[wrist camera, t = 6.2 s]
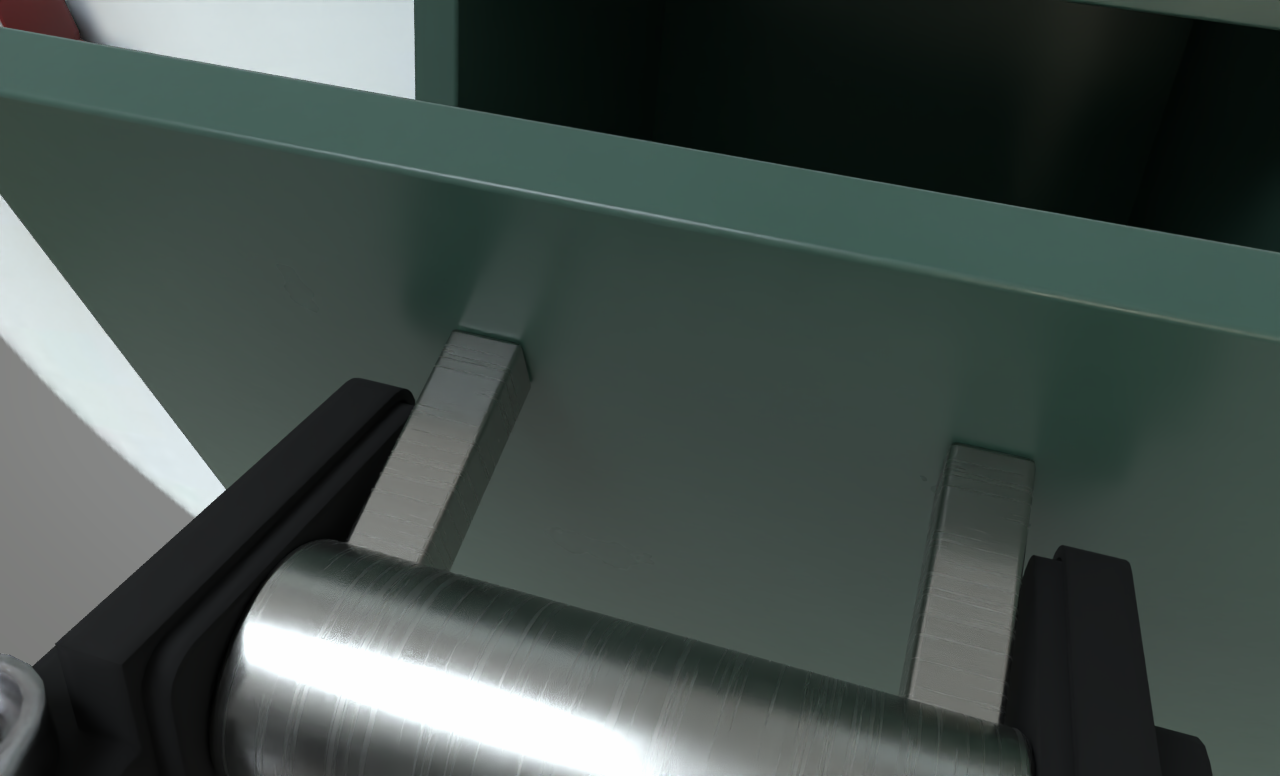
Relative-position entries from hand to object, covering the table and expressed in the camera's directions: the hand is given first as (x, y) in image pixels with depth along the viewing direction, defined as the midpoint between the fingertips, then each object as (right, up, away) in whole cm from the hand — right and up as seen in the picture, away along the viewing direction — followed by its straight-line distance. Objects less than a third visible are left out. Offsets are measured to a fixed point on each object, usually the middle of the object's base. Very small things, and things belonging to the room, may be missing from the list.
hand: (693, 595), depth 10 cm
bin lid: (+1, -1, +6) cm, 6 cm away
